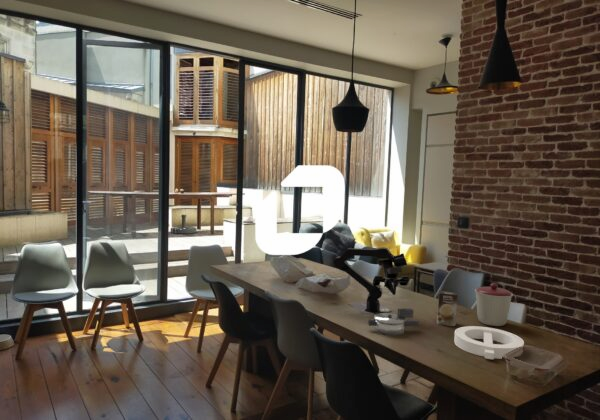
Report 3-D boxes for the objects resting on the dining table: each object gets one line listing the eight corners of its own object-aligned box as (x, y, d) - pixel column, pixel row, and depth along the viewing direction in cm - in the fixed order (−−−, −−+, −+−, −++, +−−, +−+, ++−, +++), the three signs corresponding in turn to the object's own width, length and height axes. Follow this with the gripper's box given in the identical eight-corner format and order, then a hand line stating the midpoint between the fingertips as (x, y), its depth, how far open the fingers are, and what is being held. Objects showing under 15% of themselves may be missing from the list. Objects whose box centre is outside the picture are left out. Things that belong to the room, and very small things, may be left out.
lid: (369, 315, 216) (369, 305, 216) (405, 314, 220) (405, 304, 220) (380, 324, 202) (381, 314, 201) (418, 323, 206) (419, 313, 205)
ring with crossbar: (489, 363, 176) (490, 351, 175) (440, 339, 201) (441, 329, 201) (538, 354, 187) (539, 343, 186) (486, 333, 212) (487, 323, 212)
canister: (481, 316, 241) (483, 278, 239) (516, 324, 228) (519, 284, 227) (467, 322, 228) (469, 282, 227) (502, 331, 215) (505, 289, 214)
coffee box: (436, 324, 223) (438, 293, 222) (436, 320, 229) (438, 290, 228) (455, 326, 220) (457, 295, 219) (455, 323, 226) (457, 292, 225)
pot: (364, 325, 216) (364, 315, 216) (411, 325, 219) (412, 315, 219) (372, 335, 203) (372, 324, 202) (422, 335, 206) (423, 324, 205)
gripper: (375, 260, 231) (380, 286, 221) (409, 261, 233) (416, 286, 223) (370, 272, 239) (375, 297, 229) (403, 272, 242) (410, 297, 231)
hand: (394, 294), depth 228 cm, fingers closed
